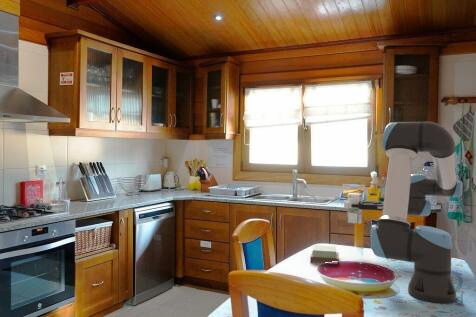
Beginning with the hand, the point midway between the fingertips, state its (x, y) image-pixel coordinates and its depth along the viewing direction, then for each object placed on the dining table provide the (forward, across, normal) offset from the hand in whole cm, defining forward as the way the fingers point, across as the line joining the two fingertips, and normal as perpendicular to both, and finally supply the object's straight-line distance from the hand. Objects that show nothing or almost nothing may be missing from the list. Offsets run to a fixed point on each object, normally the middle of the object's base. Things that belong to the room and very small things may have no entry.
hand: (344, 204), depth 196 cm
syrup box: (-5, 0, -9) cm, 10 cm away
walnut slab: (+8, -16, -24) cm, 30 cm away
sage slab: (+8, -16, -22) cm, 28 cm away
